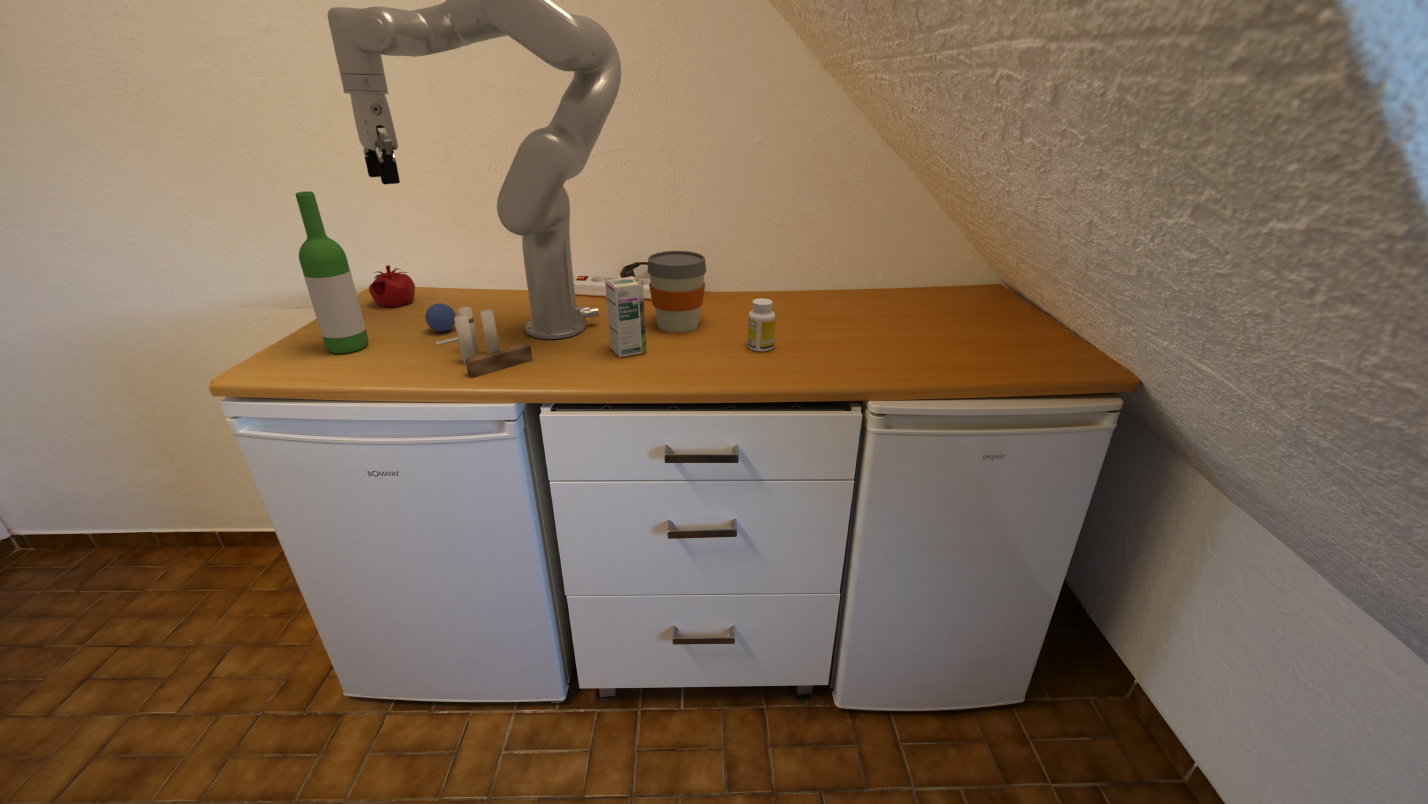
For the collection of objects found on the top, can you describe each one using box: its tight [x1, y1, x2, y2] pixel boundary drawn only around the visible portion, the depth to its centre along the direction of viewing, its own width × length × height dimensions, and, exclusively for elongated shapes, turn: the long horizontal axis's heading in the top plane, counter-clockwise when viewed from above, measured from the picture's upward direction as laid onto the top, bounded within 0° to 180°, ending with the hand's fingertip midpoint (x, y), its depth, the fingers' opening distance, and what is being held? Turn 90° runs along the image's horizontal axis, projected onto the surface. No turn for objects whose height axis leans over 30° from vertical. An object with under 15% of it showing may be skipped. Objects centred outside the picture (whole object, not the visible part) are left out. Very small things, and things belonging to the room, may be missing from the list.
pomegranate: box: [368, 264, 416, 308], centre depth 148 cm, size 10×10×9 cm
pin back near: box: [479, 308, 501, 353], centre depth 121 cm, size 2×2×9 cm
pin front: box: [457, 306, 480, 354], centre depth 122 cm, size 2×2×9 cm
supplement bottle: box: [747, 298, 776, 353], centre depth 126 cm, size 5×5×10 cm
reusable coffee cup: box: [647, 250, 707, 333], centre depth 135 cm, size 12×13×15 cm
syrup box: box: [604, 276, 647, 359], centre depth 122 cm, size 6×6×14 cm
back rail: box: [465, 342, 534, 379], centre depth 118 cm, size 12×2×3 cm, turn 132°
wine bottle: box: [294, 190, 369, 354], centre depth 119 cm, size 8×8×30 cm
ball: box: [424, 302, 457, 333], centre depth 133 cm, size 6×6×6 cm
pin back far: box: [454, 315, 476, 365], centre depth 118 cm, size 2×2×9 cm
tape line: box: [435, 336, 459, 346], centre depth 130 cm, size 8×1×1 cm, turn 132°
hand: (384, 180), depth 126 cm, fingers open, 9 cm apart
